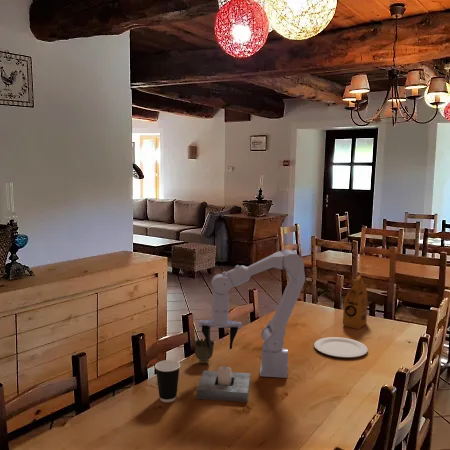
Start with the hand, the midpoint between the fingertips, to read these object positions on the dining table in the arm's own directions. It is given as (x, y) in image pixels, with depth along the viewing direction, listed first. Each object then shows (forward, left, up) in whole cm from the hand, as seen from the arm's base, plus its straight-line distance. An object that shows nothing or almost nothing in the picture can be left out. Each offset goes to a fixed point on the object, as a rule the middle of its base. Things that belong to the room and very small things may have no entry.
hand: (219, 347), depth 167 cm
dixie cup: (+14, +19, -10) cm, 26 cm away
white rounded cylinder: (-3, +11, -10) cm, 15 cm away
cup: (+7, -9, -10) cm, 15 cm away
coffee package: (-55, -60, -10) cm, 82 cm away
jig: (-3, +11, -10) cm, 15 cm away
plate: (-45, -29, -10) cm, 55 cm away
